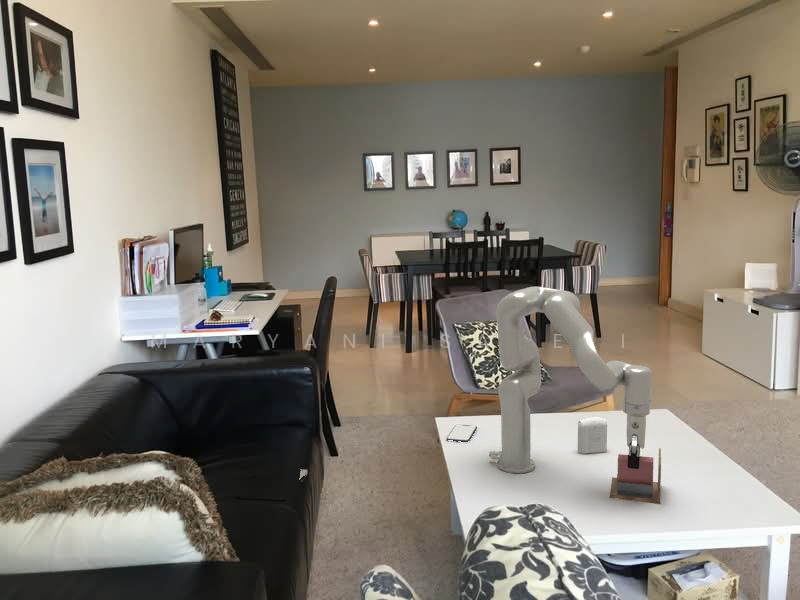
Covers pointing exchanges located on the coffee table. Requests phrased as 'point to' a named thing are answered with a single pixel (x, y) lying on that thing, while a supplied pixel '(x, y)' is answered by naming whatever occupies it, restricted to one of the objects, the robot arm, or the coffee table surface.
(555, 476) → the coffee table surface
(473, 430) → the phone case
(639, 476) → the book
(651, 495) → the bookend
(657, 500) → the shelf
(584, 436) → the photo printer
